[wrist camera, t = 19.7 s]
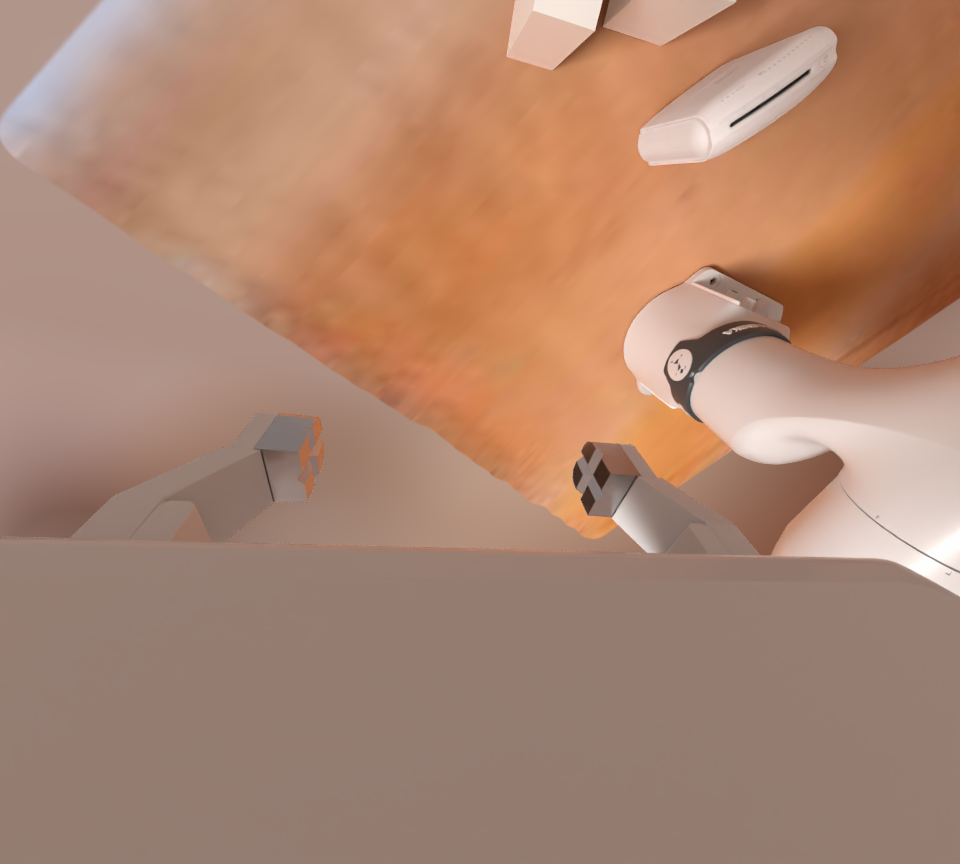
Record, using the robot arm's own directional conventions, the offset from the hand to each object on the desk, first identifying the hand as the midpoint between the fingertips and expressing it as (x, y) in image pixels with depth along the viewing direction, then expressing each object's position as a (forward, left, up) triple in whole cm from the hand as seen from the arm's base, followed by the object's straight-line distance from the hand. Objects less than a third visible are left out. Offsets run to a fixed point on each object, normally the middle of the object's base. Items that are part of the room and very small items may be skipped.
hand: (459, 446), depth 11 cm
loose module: (-6, -19, -37) cm, 42 cm away
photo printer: (-23, -16, -37) cm, 47 cm away
